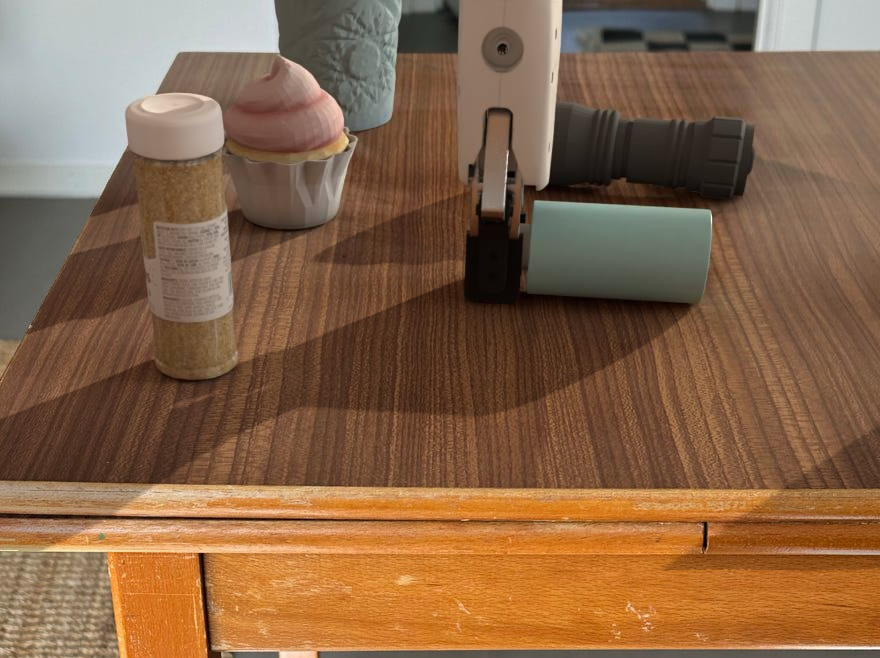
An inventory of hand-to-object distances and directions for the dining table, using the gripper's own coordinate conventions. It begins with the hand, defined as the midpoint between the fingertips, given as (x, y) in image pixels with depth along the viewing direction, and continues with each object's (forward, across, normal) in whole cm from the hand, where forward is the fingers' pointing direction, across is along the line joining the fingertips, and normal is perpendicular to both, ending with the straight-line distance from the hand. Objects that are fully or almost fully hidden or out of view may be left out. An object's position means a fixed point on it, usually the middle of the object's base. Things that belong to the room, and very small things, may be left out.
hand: (493, 285), depth 78 cm
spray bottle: (0, 0, -5) cm, 5 cm away
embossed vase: (0, +32, +14) cm, 35 cm away
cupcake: (0, +10, +14) cm, 18 cm away
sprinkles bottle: (0, -12, +15) cm, 19 cm away
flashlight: (0, +18, -8) cm, 20 cm away
